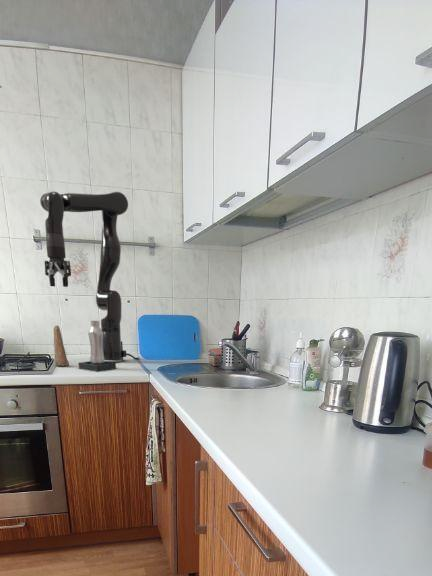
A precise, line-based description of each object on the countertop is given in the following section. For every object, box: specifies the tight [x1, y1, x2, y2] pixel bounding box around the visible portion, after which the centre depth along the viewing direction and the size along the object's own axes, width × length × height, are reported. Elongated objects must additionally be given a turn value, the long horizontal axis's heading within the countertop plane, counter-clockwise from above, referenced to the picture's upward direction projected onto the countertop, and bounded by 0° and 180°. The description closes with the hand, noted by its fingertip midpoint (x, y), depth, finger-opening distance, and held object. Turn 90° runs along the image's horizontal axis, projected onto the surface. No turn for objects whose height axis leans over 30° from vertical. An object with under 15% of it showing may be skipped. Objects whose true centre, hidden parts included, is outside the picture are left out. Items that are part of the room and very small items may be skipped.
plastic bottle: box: [88, 320, 105, 365], centre depth 208 cm, size 6×7×20 cm
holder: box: [78, 360, 117, 372], centre depth 212 cm, size 12×12×3 cm
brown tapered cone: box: [53, 325, 70, 367], centre depth 213 cm, size 6×18×6 cm
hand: (59, 286), depth 207 cm, fingers open, 8 cm apart
